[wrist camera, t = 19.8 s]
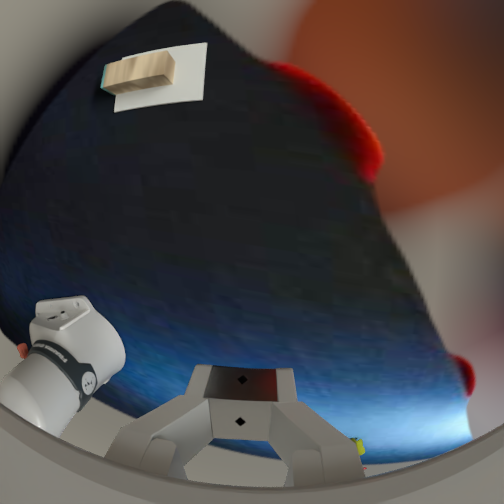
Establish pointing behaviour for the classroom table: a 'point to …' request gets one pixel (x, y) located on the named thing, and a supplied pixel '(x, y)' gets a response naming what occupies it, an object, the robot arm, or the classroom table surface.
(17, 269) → the classroom table surface
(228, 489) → the robot arm
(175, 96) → the grey mat
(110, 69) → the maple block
